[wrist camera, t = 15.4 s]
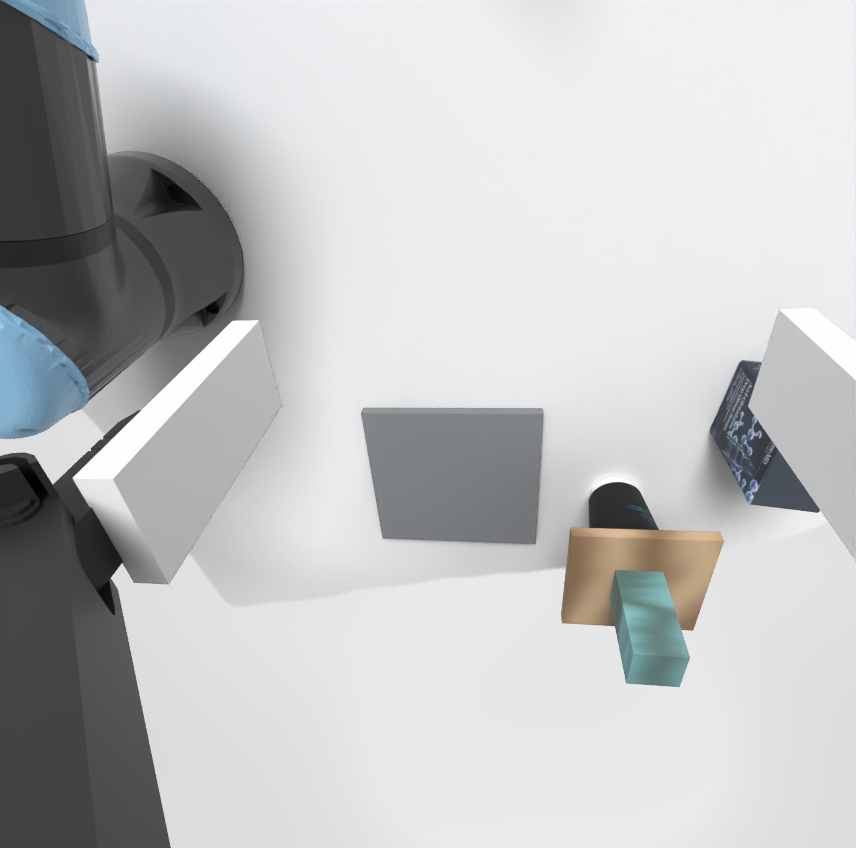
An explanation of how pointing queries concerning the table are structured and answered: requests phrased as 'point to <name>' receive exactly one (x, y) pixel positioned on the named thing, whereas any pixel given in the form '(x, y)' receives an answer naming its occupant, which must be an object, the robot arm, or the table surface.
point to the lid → (641, 593)
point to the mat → (455, 472)
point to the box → (755, 449)
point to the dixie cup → (619, 506)
